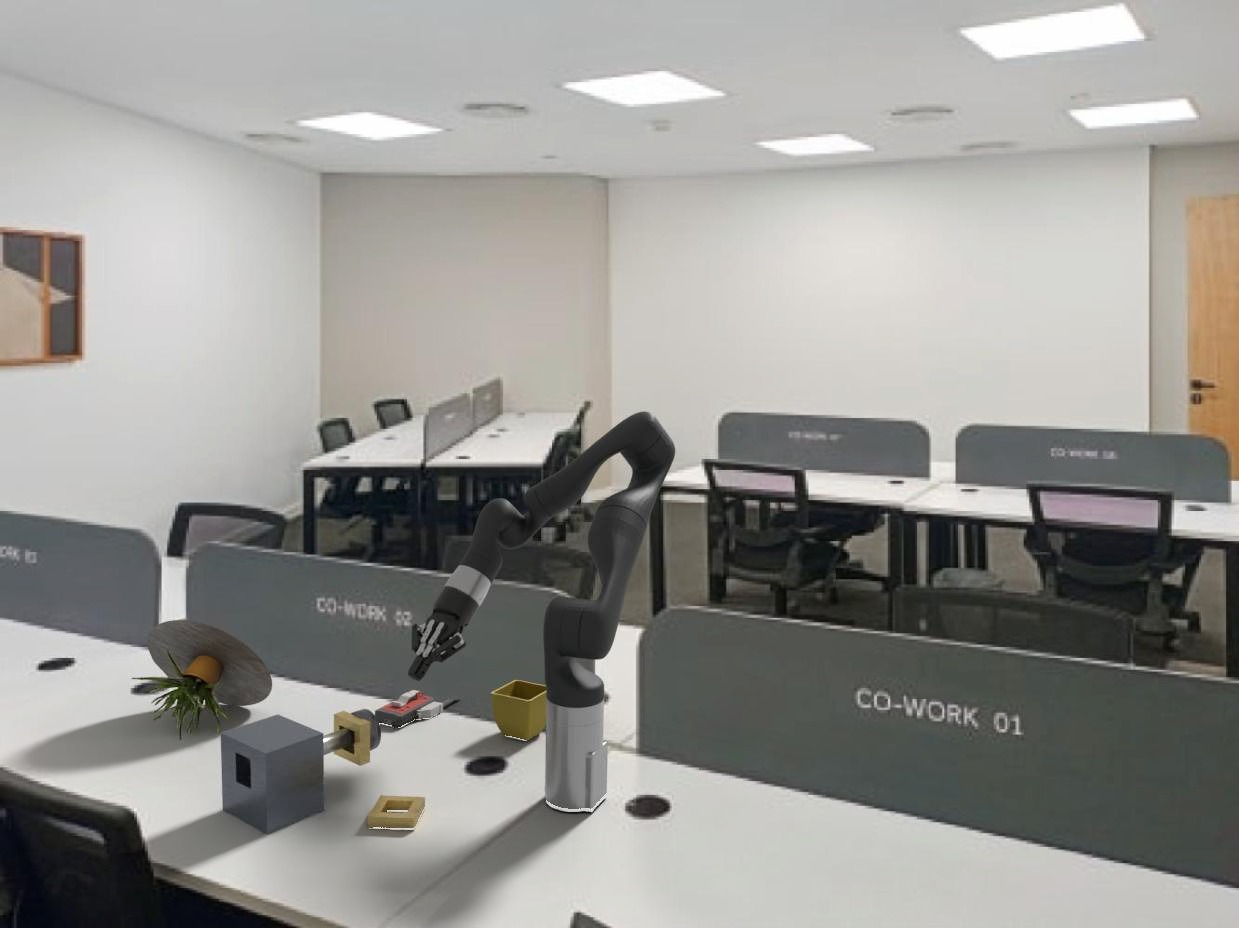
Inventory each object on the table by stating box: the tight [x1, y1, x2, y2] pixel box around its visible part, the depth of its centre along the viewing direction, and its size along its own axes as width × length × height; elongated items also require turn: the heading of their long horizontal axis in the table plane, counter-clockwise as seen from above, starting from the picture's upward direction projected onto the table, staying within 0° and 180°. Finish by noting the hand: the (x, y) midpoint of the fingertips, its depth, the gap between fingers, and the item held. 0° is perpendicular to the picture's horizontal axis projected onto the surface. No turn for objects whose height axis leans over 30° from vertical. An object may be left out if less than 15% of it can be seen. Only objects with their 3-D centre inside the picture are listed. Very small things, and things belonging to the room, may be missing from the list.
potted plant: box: [131, 619, 273, 741], centre depth 184 cm, size 25×18×25 cm
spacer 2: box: [367, 795, 426, 828], centre depth 151 cm, size 7×7×2 cm
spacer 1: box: [333, 710, 371, 767], centre depth 164 cm, size 2×7×7 cm, turn 53°
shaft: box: [323, 708, 382, 756], centre depth 158 cm, size 20×7×7 cm, turn 143°
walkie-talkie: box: [374, 689, 451, 729], centre depth 195 cm, size 9×4×20 cm
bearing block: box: [220, 714, 325, 835], centre depth 152 cm, size 10×12×12 cm
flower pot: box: [490, 679, 547, 740], centre depth 184 cm, size 9×9×9 cm
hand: (413, 677), depth 174 cm, fingers closed
